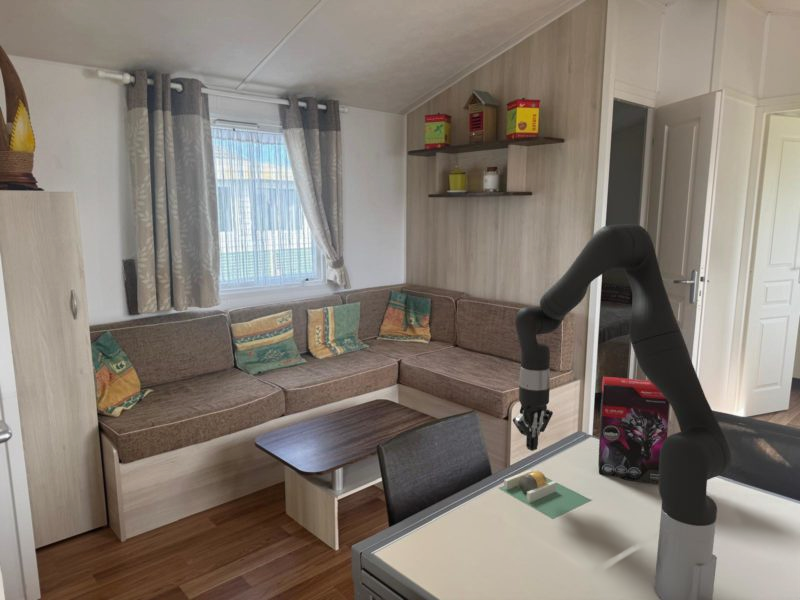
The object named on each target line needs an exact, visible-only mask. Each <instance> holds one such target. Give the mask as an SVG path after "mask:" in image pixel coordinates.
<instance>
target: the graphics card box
mask: <svg viewBox="0 0 800 600" xmlns="http://www.w3.org/2000/svg"><path fill="white" fill-rule="evenodd" d="M601 384H602V386H601V403H600V423H599V438H598V439H599V441H598V446H599V447H598V460H597V461H598V463H597V464H598V466H597V467H598V475H601V476H609V477H615V478H619V479H623V480H626V481H628V480H629V481H636V482H643V483H651V484H658V485H659V457H660V450H661V447H662V444H663V442H664V440H665V439H666V438H667V437H668V429H669V415H670V403H669V402H668V400H667V399H666V398H665V396H664V395H663V394H662V393H661V392H660V391H659V390H658V389H657V388H656V387H655V385H654V384H653V383H652V382H651V381H650V380H647V379H646V380H645V379H636V378H625V377H624V378H623V377H611V376H602V383H601Z"/></svg>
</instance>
